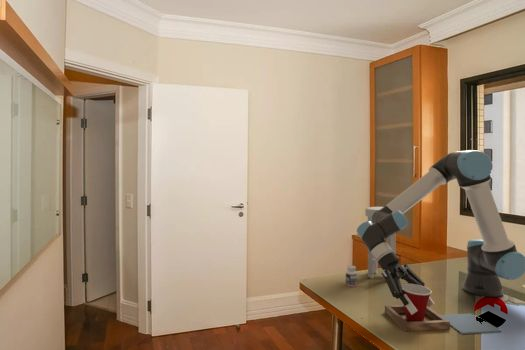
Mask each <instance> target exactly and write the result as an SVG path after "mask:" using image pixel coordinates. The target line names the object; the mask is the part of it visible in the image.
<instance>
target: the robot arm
mask: <svg viewBox="0 0 525 350" xmlns="http://www.w3.org/2000/svg"><path fill="white" fill-rule="evenodd" d="M493 167H494V166H493V161H492V158H491V157H490V156H489V155H488V154H487V153H486V152H483V151H481V150H475V149H468V150H459V151H458V150H457V151H452V152H449V153H447V154H446V155H444V156H443V157H441V158H440V159H439V160H437V161H436V162H435V163H433V164H432V165H431V166H430V167H428V172H426V173H425V174H424V175H422V176H421V177H420V178H419V179H418V180H416V181H415V182H414V183H412V184H411V185H410V186H409V187H407V188H406V189H404V190H403V191H402V192H401V193H400V194H399V195H397V196H396V197H395V198H393V199H392V200H391V201H390V202H388V203H387V204H386V205H385V206H382V207H383V208H382V209H380V210H376V211H374V212H373V213H372V214H371V217H370V218H371V221H368V220H367V221H364V222H362V223H360V224H359V225H358V226H357V228H356V233H357V235H358V236H359V237H360V240H361V241H362V242H363V244H364V245H365V247H366V248H367V250H368V249H369V251H370V252H371V253H372V255H373V256H374V258H375V259H376V261H378V265H379V267H380V268H381V270H382V272H381V276H382V277H383V278H384V280H385V282H386V285H387V287H388V289H389V292H390V293H391V295H392V297H393V298H395V299H397V300H400V301H401V303H402V305H405V306H406V308H407V309H408V310H409V312H410V313H411V315H412V314H414V313H415V312H417V311H418V310H417V309H416V307H415V306H414V305H413V303H412V302H411V300H410V299H409V298H408V296H407V295H406V294H404V293H403V290H402V286H401V284H402V283H401V280H403V281H405V282H407V283H409V284H417V285H421V286H424V287H426V286H425V285H426V283H425V282H424V281H423V280H422V279H421V278H420V277H419V276H418V275H417V274H416V273H415V272H414V271H413V270H411V268H410V267H409V265H408V264H407V263H405V264H403V265H402V264H401V263H400V258H399V257H398V255H397V254H395V253H394V252H392V251H393V250H392V249H391V247H390V246H389V245H388V243H387V238H388V237H390V236H392V235H393V234H395V233H396V234H397V233H399V232H400V231H403V229H405V228H407V227H408V226H409V221H408V219H407V217H406V216H405V213H406V212H408V211H409V210H410V209H411V208H413V207H414V206H415V205H417V204H418V203H419V202H420V201H422V200H423V199H424V198H426V197H427V196H429V194H431V193H432V192H433V191H435V190H436V189H437V188H438V187H440V186H441V185H443V186H444V185H446V184H448V183H449V182H450V181H453V180H456V181H457V184H458V187H459V188H461V189H464V191H465V194H466V196H467V199H468V202H469V205H470V208H471V211H472V214H473V216H474V217H473V218H474V219H475V222H476V224H477V227H478V230H479V233H480V236H481V238H482V239H480V238H479V239H475V238H473V239H469V240H468V241H467V245H466V249H467V251H466V252H467V254H466V255H467V256H466V257H467V260H466V261H467V267H466V275H465V277H464V280H463V282H462V289H463V290H464V291H465V292H467V293H470V294H473V295H477V296H482V297H492V298H493V297H495V298H496V297H501V296H503V295H504V287H503V285H502V283H501V279H504V280H508V281H515V280H518V279H520V278H522V277H523V276H524V275H525V255H524V254H523V253H521V252H518V250H517V247H516V245H515V242H514V240H511V239H509V238H508V236H507V232H506V229H505V227H504V224H503V221H502V218H501V214H500V213H499V211H498V207H497V205H496V204H497V203H496V202H495V201H496V200H495V198H494V197H493V193H492V189H491V187H490V182H491V180H492V176H491V173H492V171H493ZM400 279H401V280H400ZM403 294H404V295H403ZM434 304H436V303H435V302H434V301H433V299H432V298H431V296H430V297H429V299H428V303H427V306H428V307H430V308H431V307H432V306H433V305H434Z"/></svg>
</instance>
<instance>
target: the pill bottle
mask: <svg viewBox="0 0 525 350" xmlns="http://www.w3.org/2000/svg"><path fill="white" fill-rule="evenodd" d="M345 284H346V285H345V286H347V287H350V286H351V287H355V288H356V287H357V286H358V272H357V266H355V265H347V267H346V271H345Z"/></svg>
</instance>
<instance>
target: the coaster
mask: <svg viewBox="0 0 525 350" xmlns="http://www.w3.org/2000/svg"><path fill="white" fill-rule="evenodd" d="M472 314H473V315H472ZM472 314H471V313H453V314H451V313H450V314H440V315H441V316H443V317H444V318H445V319H447V320H448V321H450V327H451V326H452V327H451V328H453V329H454V330H455V329H456V330H455V331H457V332H458V331H459V334H461V335H470V334H471V335H473V334H488V332H491V333H502V330H501V329H499V327H498V328H497V326H495V325H493V324H491V323H489V322H488V321H486V320H485V321H486V322H485V321H483V322H481V323H482V324H481V323H480V322H479V321H476V317H474V316H475V315H476V314H475V315H474V313H473V312H472ZM476 316H477V317H478V318H481V317H480V316H478V315H476Z"/></svg>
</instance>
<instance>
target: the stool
mask: <svg viewBox="0 0 525 350" xmlns="http://www.w3.org/2000/svg"><path fill="white" fill-rule="evenodd" d="M383 207H384V206H369V207H366V208H364V210H365V211H364V212H365V217H367V221H371V218H370V217H371V214H372V213H373V212H374V211H376V210H380V209H382V208H383ZM396 235H397V233H395V234H393V235H392V236H390V237H388V238H387V239H386V242H387V243H388V245H389V246H390V247H391V249H392V250H393V251H392V252H394V253H395V254H396V252H397V251H396V248H397V247H396V244H397V242H396V240H397V238H396V237H397V236H396ZM396 255H397V254H396ZM378 265H379V264H378V261H376V259H375V258H374V256H373V255H372V253H371V252H370V251H369V249H368V248H367V277H370V278H369V279H374V276H375V275H374V274H376V275H377V274H379V273H378V272H379V271H378V269H379V268H378Z"/></svg>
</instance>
